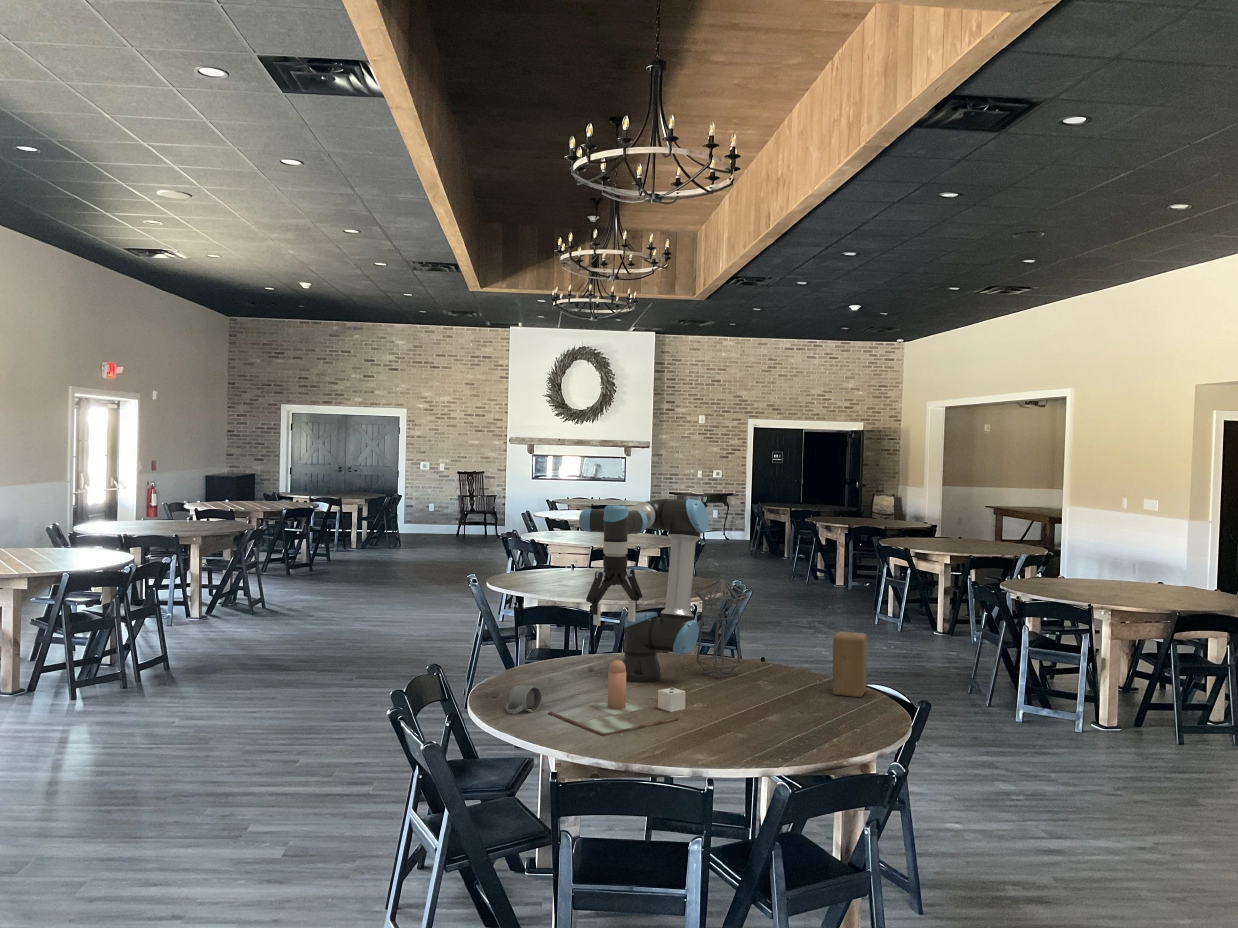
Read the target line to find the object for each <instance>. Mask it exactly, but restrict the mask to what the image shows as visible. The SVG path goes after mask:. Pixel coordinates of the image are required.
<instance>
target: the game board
mask: <svg viewBox="0 0 1238 928" xmlns="http://www.w3.org/2000/svg"><path fill="white" fill-rule="evenodd" d="M587 706H588V707H591V708H594V709H596V710H599V711H601V712H604V713H606V714H609V715H610V716H605V717H600V718H594V719H590V720H585V721H579V722H578V721H575V720H573V719H570V718H567V717H565V716H562V715H560V714H557V713H554V712H552V711H549V712H547V714H548V715H549V714H550V716H552V715H553V716H552V717H554V716H555V717H554V718H557V719H559V720H562V721H565V722H567V723H570V724H572V725H575V726H577V727H579V728H582V729H585V730H587V731H589V732H592V733H594V734H597V735H600V736H601V737H606V736H610V735H614V734H615V735H616V734H618V733H625V732H630V731H634V730H640V729H644V728H649V727H654V726H658V725H664V724H667V723H672V722H678V721H679V718H677V717H673V718H668V719H664V720H659V721H655V722H650V723H644V724H640V725H639V724H636V723H633V722H630V721H628V720H626V719H621V718H619V717H616V716H614V715H620V714H624V713H628V712H629V713H630V712H635V711H639V710H644V709H645V710H646V709H647V708H646V707H645V706H644V707H643V706H641V705H638V704H635V703H631V702H628V701H626V708H624V709H611V708H608V701H606V702H600V703H599V702H598V703H594V704H588V705H587Z"/></svg>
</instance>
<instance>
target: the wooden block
mask: <svg viewBox="0 0 1238 928" xmlns="http://www.w3.org/2000/svg"><path fill="white" fill-rule="evenodd" d="M867 640H868V636H867V634H866V633H864V632H853V631H841V630H840V631H838V632H836V633H835V634H834V636H833V637H832V645H833V646H832V694H833V695H836V696H845V697H852V698H853V697H855V698H862V697H863V696H864V694H865V693H866V690H867V659H868V658H867V653H868V652H867V651H868V650H867V648H868V641H867Z"/></svg>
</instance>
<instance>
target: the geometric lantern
mask: <svg viewBox="0 0 1238 928" xmlns="http://www.w3.org/2000/svg"><path fill="white" fill-rule="evenodd" d="M719 585H720V589H718V588H719ZM708 588H709V589H708ZM705 589H708V590H707V591H706V592H702V591H704V590H705ZM735 590H736V591H738V592H740V593H741V594H737V593H736V591H735ZM718 592H720V597H718V596H717V594H718ZM727 594H728V595H727ZM693 595H696V596H697V597H698V598H699V599H700V600H701V602H702V603H703V606H702V609H701V614H700V626H699V635H698V645H697V652H696V662H697V664H699V666H700V667H701V668H702V675H705V676H709V677H714V678H717V679H718V678H726V677H729V676H732V675H733V670H734V669H736V668H738V667H739V666H741V640H740V639H741V616H740V611H739V605H740V604H741V603H743V602H744V601H745V600H747V599H748V598H749V594H747V593H745V592H744V591H742V590H741V589H739V588H738V587H736V586H734V584H732V583H731V582H728V581H727V580H725V579H720V578H719V579H718V580H716V581H715V582H714V581H713V583H711V584H708V585H706V586H704V587H702V588H700V589H699V590H696V591H694V592H693ZM708 595H709V596H708ZM723 595H724V598H723ZM716 596H717V597H716ZM733 597H734V598H733ZM706 598H707V599H706ZM713 600H715V601H713ZM721 600H726V601H727V604H726V605H725V607H724V609H723V610H722V611H720V610H719V609H718V607H717V605H716V603H717V602H720V601H721ZM707 602H708V603H707ZM733 603H734V605H733ZM707 606H710V607H711V609H712V612H705V610H706V607H707ZM713 606H714V607H715V608H716V610H717V611H715V609H714V607H713ZM728 606H729V609H728V610H727V611H726V609H727V608H728ZM735 607H736V614H732V613H728V612H729V611H730V609H731V608H735ZM725 611H726V612H725ZM710 614H714V615H715V617H714V616H710ZM720 614H721V617H719V615H720ZM727 615H728V616H732V617H727V618H726V616H727ZM733 616H734V617H733ZM704 617H707V618H709V619H714V620H716V625H715V632H714V633H715V634H714V645H713V654H712V656H709V657H702V658H700V653H701V652H700V649H701V641H702V639H701V638H702V629H703V626H704V625H703V624H704V623H703V622H704ZM731 619H737V634H738V635H737V636H738V638H737V639H738V640H737V644H738V645H737V647H738V648H737V660H735V659H730V658H725V620H731ZM720 621H721V627H720ZM719 628H721V630H720V629H719ZM719 630H720V653H719V654H720V656H718V644H719ZM709 659H712V661H713V664H710V663H706V662H704V661H703V660H709ZM725 660H726V661H730V662H734V663H735V664H728V665H727V664H726V665H725ZM720 661H721V663H722V665H719V662H720ZM702 664H703V665H706V666H705V667H704V666H703V665H702ZM711 667H713V669H710V668H711ZM718 668H719V669H720V668H721V669H720V670H718ZM715 669H716V670H715ZM723 669H727V670H723ZM705 670H707V671H705ZM712 672H714V673H717V676H716V675H711V674H708V673H712ZM719 673H720V674H719ZM722 673H723V674H726V675H722ZM719 675H720V676H719Z"/></svg>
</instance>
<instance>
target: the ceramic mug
mask: <svg viewBox="0 0 1238 928" xmlns="http://www.w3.org/2000/svg"><path fill="white" fill-rule="evenodd" d="M542 696H543V695H542V691H541V690H540V688H539V687H538V686H534V685H524V684H522V685H521V684H518V685H514V686H513V687H512V688H511V689H510V691H509V694H508V703H507V704H506V705H505V710H506V712H508V713H507V714H509V713H511V714H510V715H515V714H519V713H520V712H522V711H525V712H528V713H533V712H532V711H535V712H536V711H537V710H538V709H539V708H540V706H541V703H542V699H543V697H542ZM511 707H512V708H513V709H511ZM515 708H516V709H515ZM528 709H531V710H532V711H530V710H528Z"/></svg>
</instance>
